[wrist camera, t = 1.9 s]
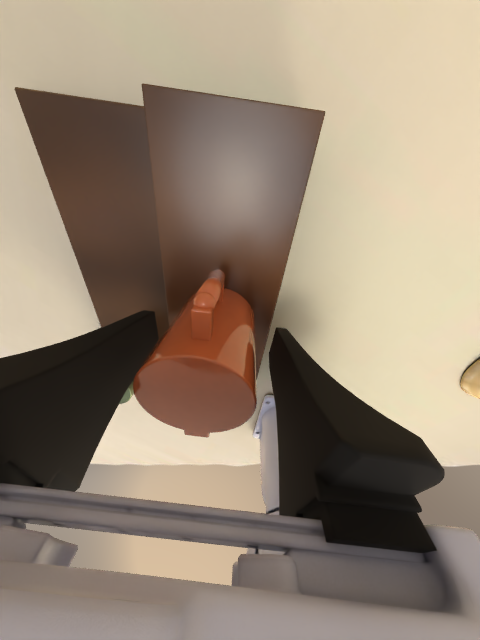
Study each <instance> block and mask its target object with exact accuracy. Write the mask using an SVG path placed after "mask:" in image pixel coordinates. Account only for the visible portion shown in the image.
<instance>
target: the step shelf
mask: <svg viewBox="0 0 480 640" xmlns="http://www.w3.org/2000/svg"><path fill="white" fill-rule="evenodd" d="M15 91H16V94H17V97H18V100H19V102H20V105H21V108H22V111H23V113H24V116H25V119H26V122H27V124H28V127H29V130H30V133H31V135H32V138H33V141H34V144H35V146H36V149H37V152H38V155H39V157H40V160H41V163H42V165H43V168H44V171H45V174H46V176H47V179H48V182H49V185H50V187H51V190H52V193H53V196H54V198H55V201H56V204H57V207H58V209H59V212H60V215H61V218H62V220H63V223H64V226H65V228H66V231H67V234H68V237H69V239H70V242H71V245H72V248H73V250H74V253H75V256H76V259H77V261H78V264H79V267H80V270H81V272H82V275H83V278H84V281H85V283H86V286H87V289H88V292H89V294H90V297H91V300H92V302H93V305H94V308H95V311H96V313H97V316H98V319H99V322H100V324H101V327H104V326H107V325H109V324H112V323H114V322H116V321H119V320H121V319H123V318H126V317H128V316H130V315H133V314H135V313H137V312H140V311H143V310H147V311H155V317H156V323H157V330H158V336H159V340H160V339H161V337H162V336H163V335H164V333H165V332H166V330H167V329H168V328H169V326H170V325H171V323H172V322H173V320H174V319H175V318H176V316H177V315H178V313H179V312H180V311H181V309H182V308H183V306H184V305H185V303H186V302H187V301H188V299H189V298H190V297H191V296H192V295H193V294H195V293H196V292H198V291H199V289H200V287H201V286H202V284H203V283H204V281H205V280H206V278H207V277H208V275H209V274H210V272H211V271H213V270H216V269H218V270H221V271H222V272H223V273H224V274H225V276H226V280H225V288H227V289H230V290H232V291H234V292H236V293H238V294H240V295H241V296H242V297H243V298H245V299H246V301H247V302H248V303H249V304H250V306H251V308H252V310H253V313H254V317H255V350H256V380H257V376H258V372H259V368H260V365H261V361H262V357H263V353H264V349H265V345H266V341H267V337H268V333H269V330H270V326H271V322H272V318H273V314H274V310H275V306H276V302H277V298H278V295H279V291H280V287H281V283H282V279H283V275H284V271H285V267H286V263H287V260H288V256H289V252H290V248H291V244H292V240H293V236H294V232H295V228H296V225H297V221H298V217H299V213H300V209H301V205H302V201H303V197H304V193H305V190H306V186H307V182H308V178H309V174H310V170H311V166H312V162H313V158H314V155H315V151H316V147H317V143H318V139H319V135H320V131H321V127H322V124H323V120H324V116H325V111H320V110H314V109H307V108H301V107H294V106H287V105H281V104H274V103H268V102H261V101H254V100H248V99H241V98H235V97H228V96H221V95H215V94H208V93H202V92H195V91H188V90H182V89H175V88H169V87H162V86H155V85H149V84H142V91H143V100H144V106H138V105H132V104H125V103H118V102H112V101H105V100H98V99H91V98H85V97H78V96H71V95H65V94H58V93H51V92H45V91H38V90H31V89H25V88H18V87H15ZM159 340H158V342H159ZM158 342H157V343H158ZM156 345H157V344H156Z"/></svg>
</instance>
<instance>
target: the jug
mask: <svg viewBox="0 0 480 640" xmlns="http://www.w3.org/2000/svg"><path fill="white" fill-rule="evenodd" d="M225 280H226V276H225V274H224V273H223V272H222V271H221V270H218V269H216V270H213V271H211V272H210V274H209V275H208V277H207V278H206V280H205V281H204V283H203V284H202V286H201V287H200V289H199V291H198V292H196V293H195V294H193V295H192V296H191V297H190V298H189V299H188V301H187V302H186V303H185V305H184V306H183V308H182V309H181V311H180V312H179V313H178V315H177V316H176V318H175V319H174V320H173V322H172V323H171V325H170V326H169V328H168V329H167V330H166V332H165V333H164V335H163V336H162V337H161V339H160V340H159V342H158V343H157V345H156V346H155V347H154V349H153V350H152V352H151V353H150V354H149V356H148V357H147V359H146V360H145V362H144V363H143V364H142V366H141V367H140V369H139V370H138V371H137V373H136V375H135V377H134V381H133V391H134V395H135V397H136V399H137V401H138V402H139V404H140V405H141V406H142V407H143V408H144V409H145V410H146V411H147V412H148V413H149V414H150V415H152V416H153V417H155V418H156V419H158V420H160V421H162V422H164V423H166V424H168V425H170V426H173V427H176V428H179V429H183V430H184V433H185V435H192V436H200V437H209V434H210V433H213V432H222V431H227V430H231V429H234V428H236V427H239V426H241V425H242V424H244V423H245V422H247V421H248V420H249V419H250V418H251V416H252V415H253V413H254V411H255V409H256V404H257V391H256V350H255V317H254V313H253V310H252V308H251V306H250V304H249V303H248V302H247V301H246V299H245V298H243V297H242V296H241V295H240V294H238V293H236V292H234V291H232V290H230V289H227V288H225Z"/></svg>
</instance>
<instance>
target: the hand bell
mask: <svg viewBox="0 0 480 640" xmlns="http://www.w3.org/2000/svg"><path fill="white" fill-rule="evenodd" d="M461 387H462V389H463V390H464V391H465V392H466V393H468V394H469V395H471V396H474V397H476V398H479V399H480V359H479V360H478V361H476V362H475V363H474V364H473V365H471V366H470V367H469V368H468V369H467V370H466V371H465V373H464V374H463V376H462V379H461Z"/></svg>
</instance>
